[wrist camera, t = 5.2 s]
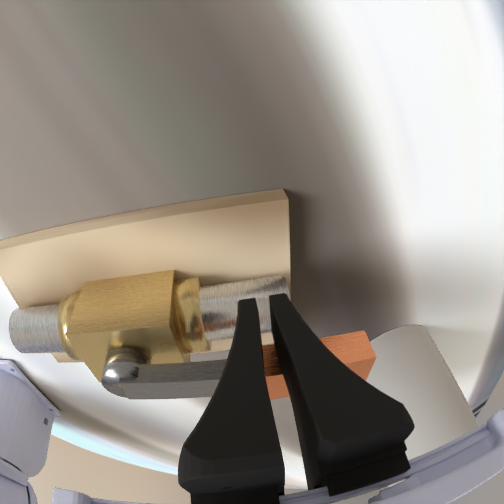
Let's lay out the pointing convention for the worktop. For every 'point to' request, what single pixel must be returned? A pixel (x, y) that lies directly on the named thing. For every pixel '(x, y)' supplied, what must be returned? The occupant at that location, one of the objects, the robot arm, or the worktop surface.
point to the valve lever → (215, 370)
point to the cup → (421, 388)
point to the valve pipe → (141, 317)
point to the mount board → (154, 249)
